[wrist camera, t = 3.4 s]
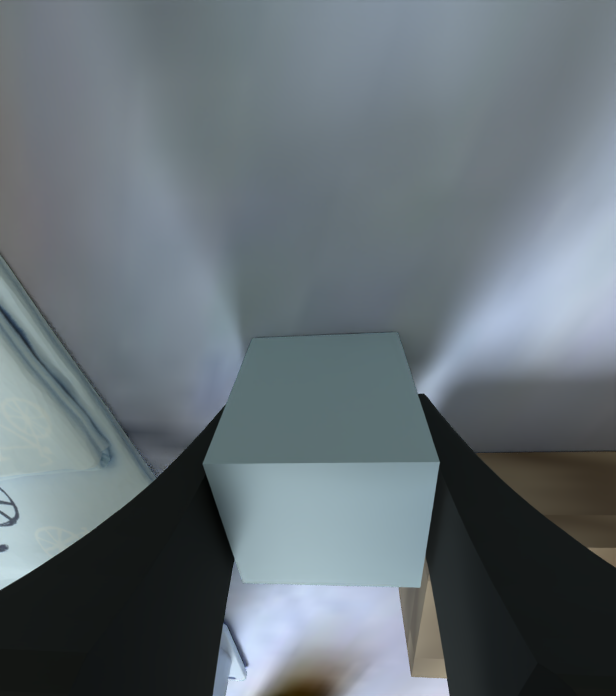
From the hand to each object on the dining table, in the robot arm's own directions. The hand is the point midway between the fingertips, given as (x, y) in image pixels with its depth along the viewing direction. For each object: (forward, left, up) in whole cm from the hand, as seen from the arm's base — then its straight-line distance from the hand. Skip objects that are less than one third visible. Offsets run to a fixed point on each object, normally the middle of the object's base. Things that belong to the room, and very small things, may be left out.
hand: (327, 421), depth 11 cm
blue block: (0, 0, -1) cm, 1 cm away
